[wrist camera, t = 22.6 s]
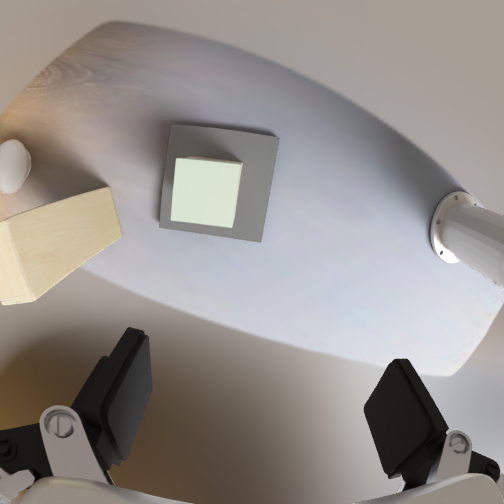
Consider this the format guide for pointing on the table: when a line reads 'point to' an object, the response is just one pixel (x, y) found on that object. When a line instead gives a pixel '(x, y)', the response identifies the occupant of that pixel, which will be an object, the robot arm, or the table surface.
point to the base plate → (251, 182)
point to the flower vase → (13, 165)
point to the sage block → (205, 191)
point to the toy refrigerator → (53, 243)
